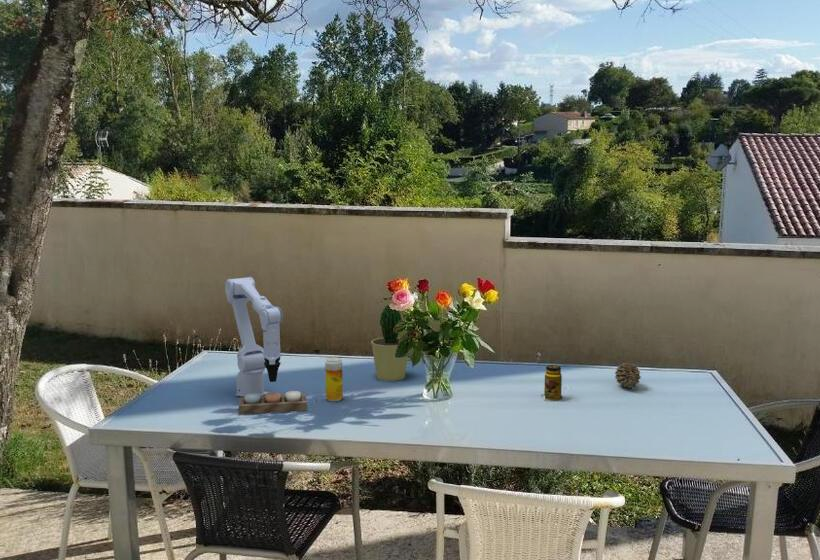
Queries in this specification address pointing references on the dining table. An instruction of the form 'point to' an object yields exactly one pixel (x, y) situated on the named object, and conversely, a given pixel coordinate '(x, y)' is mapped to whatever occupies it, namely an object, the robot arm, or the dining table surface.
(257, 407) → the button board
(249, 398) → the slate button
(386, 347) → the potted cactus
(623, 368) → the pine cone
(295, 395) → the cream button
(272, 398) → the terracotta button
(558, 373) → the condiment
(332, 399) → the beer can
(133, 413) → the dining table surface
